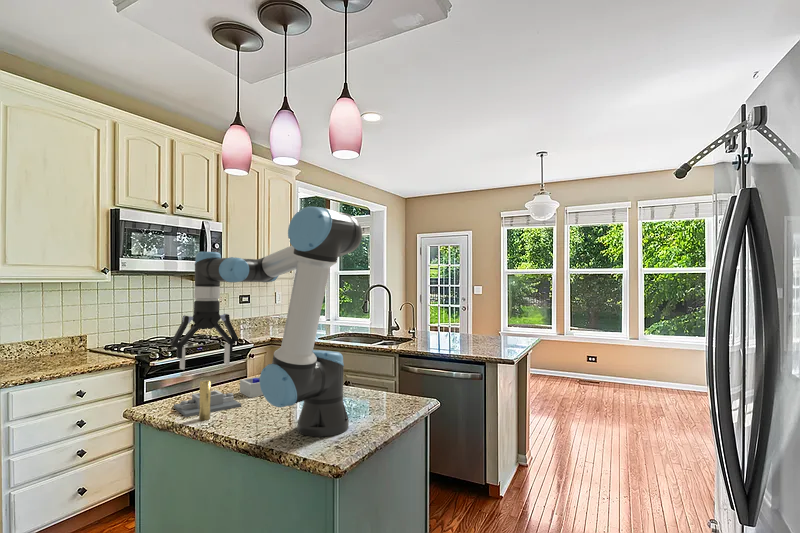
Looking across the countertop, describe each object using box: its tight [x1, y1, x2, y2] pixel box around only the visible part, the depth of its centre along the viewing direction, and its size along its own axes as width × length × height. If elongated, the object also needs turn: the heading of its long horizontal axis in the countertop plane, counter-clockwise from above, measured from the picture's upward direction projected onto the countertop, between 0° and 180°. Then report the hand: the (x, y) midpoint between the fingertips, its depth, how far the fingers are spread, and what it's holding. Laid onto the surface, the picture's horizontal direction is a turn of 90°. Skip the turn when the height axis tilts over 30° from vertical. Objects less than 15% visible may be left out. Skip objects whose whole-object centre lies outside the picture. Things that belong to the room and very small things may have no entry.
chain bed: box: [173, 390, 242, 418], centre depth 150 cm, size 14×18×4 cm
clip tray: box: [239, 376, 264, 398], centre depth 171 cm, size 10×18×5 cm, turn 132°
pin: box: [198, 379, 212, 422], centre depth 137 cm, size 3×3×12 cm
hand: (205, 366), depth 137 cm, fingers open, 13 cm apart
